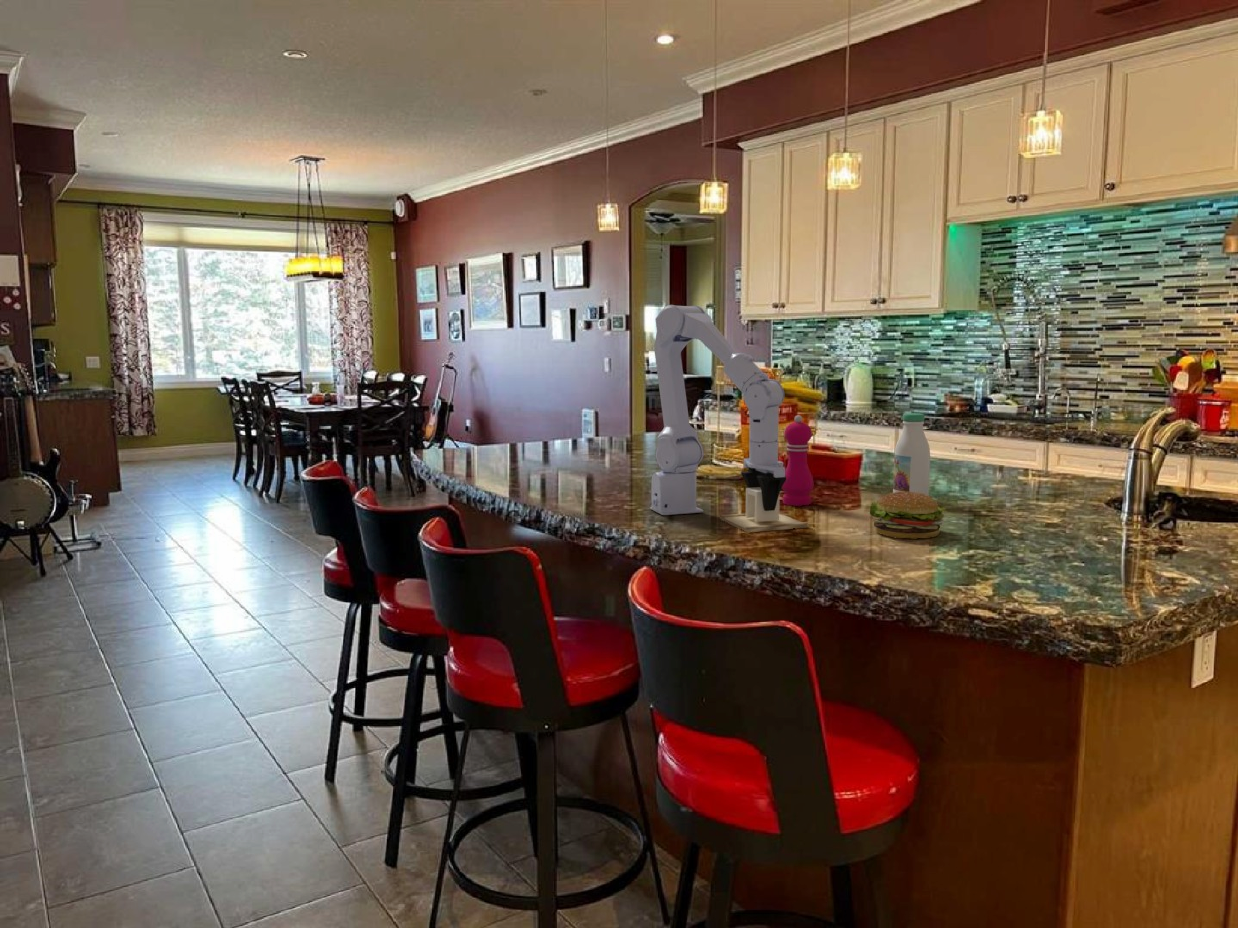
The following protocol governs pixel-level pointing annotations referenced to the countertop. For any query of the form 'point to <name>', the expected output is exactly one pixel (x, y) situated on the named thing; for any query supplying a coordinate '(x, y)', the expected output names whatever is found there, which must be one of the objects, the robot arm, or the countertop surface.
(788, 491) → the pepper mill
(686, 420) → the robot arm
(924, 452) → the milk bottle
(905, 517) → the food
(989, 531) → the countertop surface
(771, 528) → the plate
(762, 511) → the white block
